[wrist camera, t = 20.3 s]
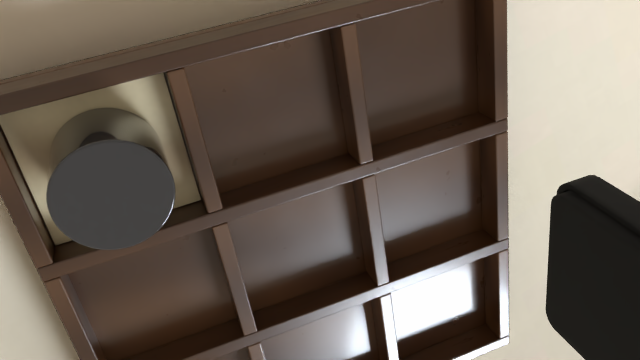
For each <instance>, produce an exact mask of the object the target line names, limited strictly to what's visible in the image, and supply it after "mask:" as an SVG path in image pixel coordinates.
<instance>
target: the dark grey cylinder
mask: <svg viewBox="0 0 640 360" xmlns="http://www.w3.org/2000/svg"><path fill="white" fill-rule="evenodd" d="M175 195H176V190H175V183H174V178H173V175H172V172H171V169H170V166H169V163H168V160H167V157H166V154H165V151H164V148H163V146H162V143H161V140H160V138H159V136H158V134H157V133H156V131H155V130H154V129H153V127H152V126H151V125H150V124H149V123H148V122H147V121H145V120H144V119H143V118H141V117H139V116H138V115H136V114H134V113H131V112H129V111H126V110H122V109H117V108H97V109H92V110H88V111H85V112H82V113H80V114H78V115H76V116H75V117H73V118H71V119H70V120H69V121H68V122H66V123H65V124H64V125H63V126H62V127H61V128H60V130H59V131H58V132H57V134H56V135H55V137H54V140H53V142H52V145H51V148H50V155H49V166H48V178H47V190H46V202H47V207H48V211H49V213H50V216H51V218H52V220H53V222H54V223H55V224H56V226H57V227H58V228H59V229H60V230H61V231H62V232H63V233H64V234H65V235H66V236H67V237H69V238H70V239H72V240H73V241H75V242H77V243H79V244H81V245H84V246H87V247H90V248H95V249H100V250H117V249H124V248H128V247H131V246H134V245H137V244H139V243H141V242H143V241H145V240H147V239H148V238H150V237H151V236H153V235H154V234H155V233H156V232H158V231H159V230H160V229H161V227H162V226H163V225H164V224H165V222H166V221H167V220H168V218H169V216H170V214H171V212H172V209H173V207H174V203H175Z"/></svg>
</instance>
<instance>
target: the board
mask: <svg viewBox="0 0 640 360" xmlns="http://www.w3.org/2000/svg"><path fill="white" fill-rule="evenodd" d="M97 108H117V109H122V110H126V111H129V112H131V113H134V114H136V115H138V116H139V117H141V118H143V119H144V120H145V121H147V122H148V123H149V124H150V125H151V126H152V127H153V129H154V130H155V131H156V133H157V134H158V136H159V138H160V140H161V143H162V146H163V148H164V151H165V154H166V157H167V160H168V163H169V166H170V169H171V172H172V175H173V178H174V183H175V190H176V195H175V203H174V207H173V209H172V212H171V214H170V216H169V218H168V220H167V221H166V222H165V224H164V225H163V226H162V227H161V229H160V230H159V231H158V232H156V233H155V234H154V235H153V236H151V237H150V238H148V239H147V240H145V241H143V242H141V243H139V244H137V245H134V246H131V247H128V248H124V249H117V250H100V249H95V248H90V247H87V246H84V245H81V244H79V243H77V242H75V241H73V240H72V239H70V238H69V237H67V236H66V235H65V234H64V233H63V232H62V231H61V230H60V229H59V228H58V227H57V226H56V224H55V223H54V222H53V220H52V218H51V216H50V213H49V211H48V207H47V202H46V190H47V178H48V166H49V155H50V148H51V145H52V142H53V140H54V137H55V135H56V134H57V132H58V131H59V130H60V128H61V127H62V126H63V125H64V124H65V123H66V122H68V121H69V120H70V119H71V118H73V117H75V116H76V115H78V114H80V113H82V112H85V111H88V110H92V109H97ZM507 117H508V94H507V0H321V1H317V2H313V3H309V4H305V5H301V6H297V7H293V8H289V9H285V10H281V11H277V12H273V13H269V14H265V15H260V16H256V17H252V18H248V19H244V20H240V21H236V22H232V23H228V24H224V25H220V26H216V27H212V28H208V29H204V30H200V31H196V32H192V33H188V34H184V35H180V36H176V37H172V38H168V39H164V40H160V41H156V42H152V43H148V44H144V45H140V46H136V47H132V48H128V49H124V50H120V51H116V52H112V53H108V54H104V55H100V56H96V57H92V58H88V59H84V60H80V61H76V62H72V63H68V64H64V65H60V66H56V67H52V68H48V69H44V70H40V71H36V72H32V73H28V74H24V75H20V76H16V77H12V78H8V79H4V80H0V195H1V197H2V199H3V201H4V204H5V206H6V208H7V210H8V212H9V214H10V216H11V218H12V220H13V222H14V224H15V226H16V228H17V230H18V232H19V234H20V237H21V239H22V241H23V243H24V245H25V247H26V249H27V251H28V253H29V255H30V257H31V259H32V261H33V263H34V265H35V267H36V268H37V271H38V273H39V275H40V278H41V280H42V281H43V284H44V286H45V288H46V290H47V292H48V294H49V296H50V298H51V300H52V302H53V304H54V306H55V308H56V311H57V313H58V315H59V317H60V319H61V321H62V323H63V325H64V327H65V329H66V331H67V333H68V335H69V337H70V339H71V341H72V344H73V346H74V348H75V350H76V352H77V354H78V356H79V358H80V360H470V359H473V358H475V357H478V356H480V355H482V354H485V353H487V352H490V351H492V350H494V349H497V348H499V347H502V346H504V345H506V344H509V250H508V248H509V239H508V132H507V130H508V120H507Z"/></svg>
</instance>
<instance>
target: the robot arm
mask: <svg viewBox="0 0 640 360" xmlns="http://www.w3.org/2000/svg"><path fill="white" fill-rule="evenodd" d="M546 314H547V317H548V320H549V322H550V324H551V325H552V327H553V328H554V329H555V330H556V331H557V332H558V333H559V334H560V335H561V336H562V337H563V338H564V339H565V340H566V341H567V342H568V343H569V344H570V345H571V346H572V347H573V348H574V349H575V350H576V351H577V352H578V353H579V354H580V355H581V356H582V357H583V358H584V359H585V360H640V202H639V201H637V200H636V199H634V198H632V197H631V196H629V195H628V194H626V193H624V192H623V191H621V190H619V189H618V188H616V187H614V186H613V185H611V184H609V183H608V182H606V181H605V180H603V179H601V178H600V177H597V176H595V175H588V176H585V177H583V178H580V179H577V180H574V181H571V182H568V183H565V184H563V185H561V186H560V187H559V189H558V190H557V195H556V196H554V197H553V199H552V202H551V215H550V235H549V255H548V275H547V295H546Z"/></svg>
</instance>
